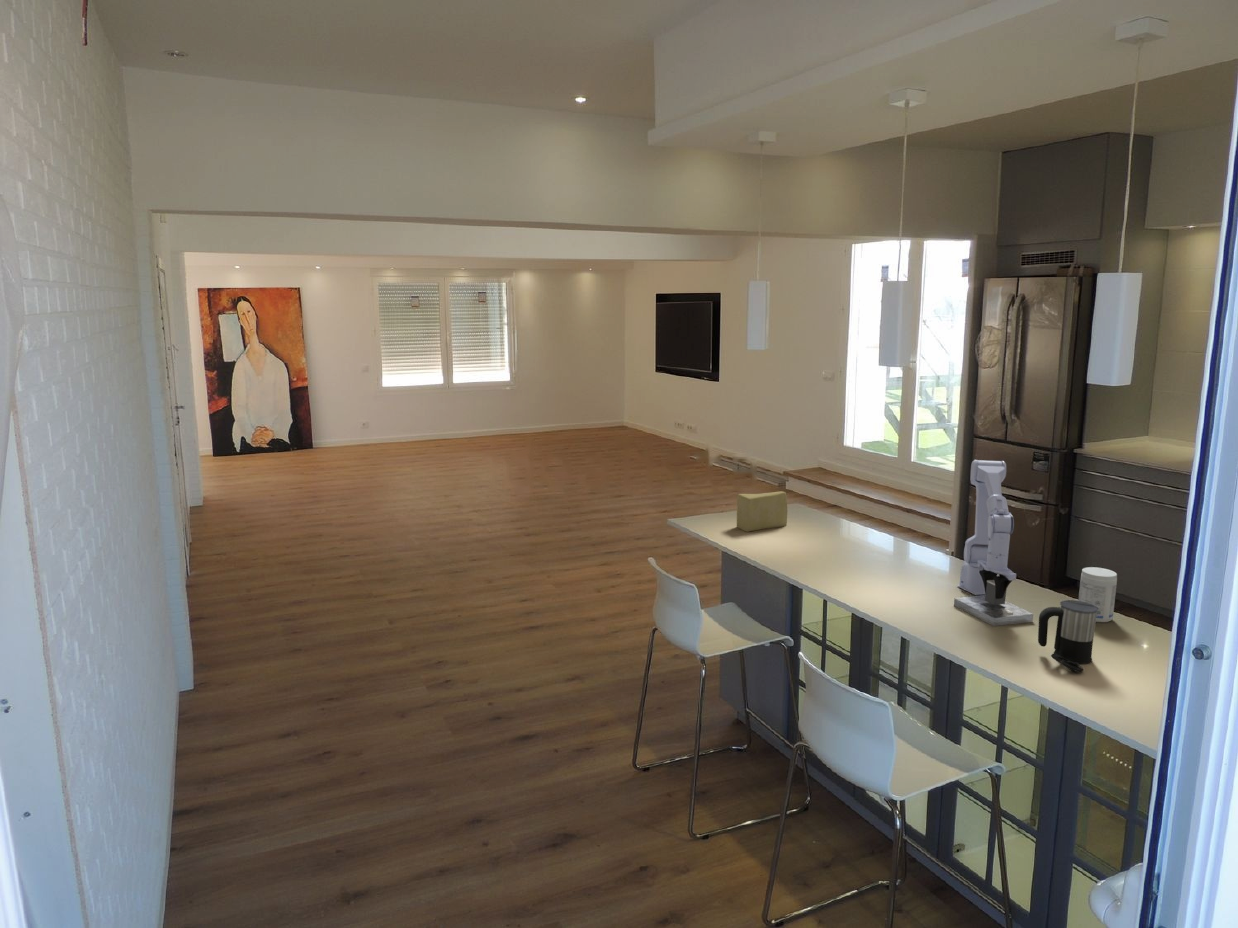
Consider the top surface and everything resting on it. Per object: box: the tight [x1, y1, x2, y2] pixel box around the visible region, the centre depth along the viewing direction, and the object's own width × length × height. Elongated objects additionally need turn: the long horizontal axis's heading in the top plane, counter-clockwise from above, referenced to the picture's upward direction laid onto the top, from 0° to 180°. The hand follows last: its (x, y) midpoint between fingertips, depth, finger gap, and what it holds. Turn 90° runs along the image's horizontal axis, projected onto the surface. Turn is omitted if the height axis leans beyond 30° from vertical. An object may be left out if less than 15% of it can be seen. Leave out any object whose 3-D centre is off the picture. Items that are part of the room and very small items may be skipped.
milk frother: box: [1037, 599, 1099, 673], centre depth 221 cm, size 14×16×15 cm
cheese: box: [736, 490, 788, 533], centre depth 356 cm, size 22×10×15 cm, turn 111°
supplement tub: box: [1077, 566, 1118, 623], centre depth 254 cm, size 10×10×15 cm
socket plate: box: [953, 594, 1034, 627], centre depth 258 cm, size 18×14×3 cm
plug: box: [984, 580, 1008, 605], centre depth 257 cm, size 4×4×6 cm
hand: (993, 595), depth 257 cm, fingers closed on plug, 4 cm apart
